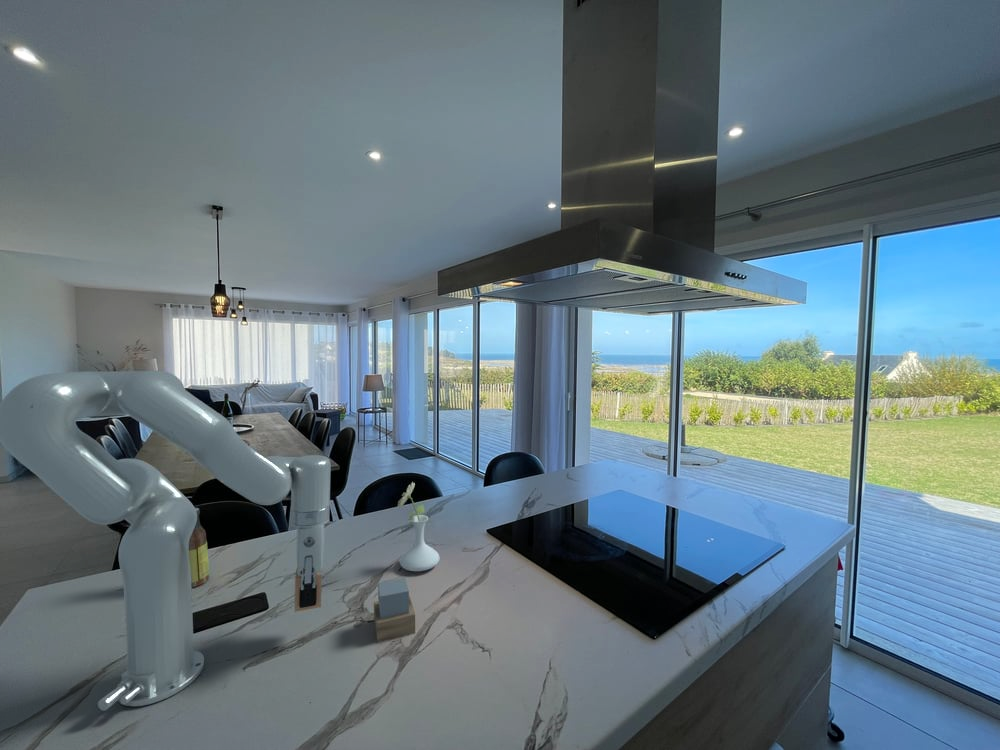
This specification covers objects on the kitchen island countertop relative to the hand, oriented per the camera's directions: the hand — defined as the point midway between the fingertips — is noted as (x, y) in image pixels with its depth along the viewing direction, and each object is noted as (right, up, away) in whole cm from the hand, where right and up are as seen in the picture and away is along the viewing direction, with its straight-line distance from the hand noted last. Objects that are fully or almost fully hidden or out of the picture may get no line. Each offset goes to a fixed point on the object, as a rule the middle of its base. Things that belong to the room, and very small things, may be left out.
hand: (308, 597), depth 88 cm
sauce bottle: (-40, -8, +21) cm, 46 cm away
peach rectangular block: (0, -1, 0) cm, 1 cm away
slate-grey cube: (+17, -4, +4) cm, 18 cm away
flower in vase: (+18, -7, +30) cm, 36 cm away
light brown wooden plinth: (+17, -9, +4) cm, 20 cm away
